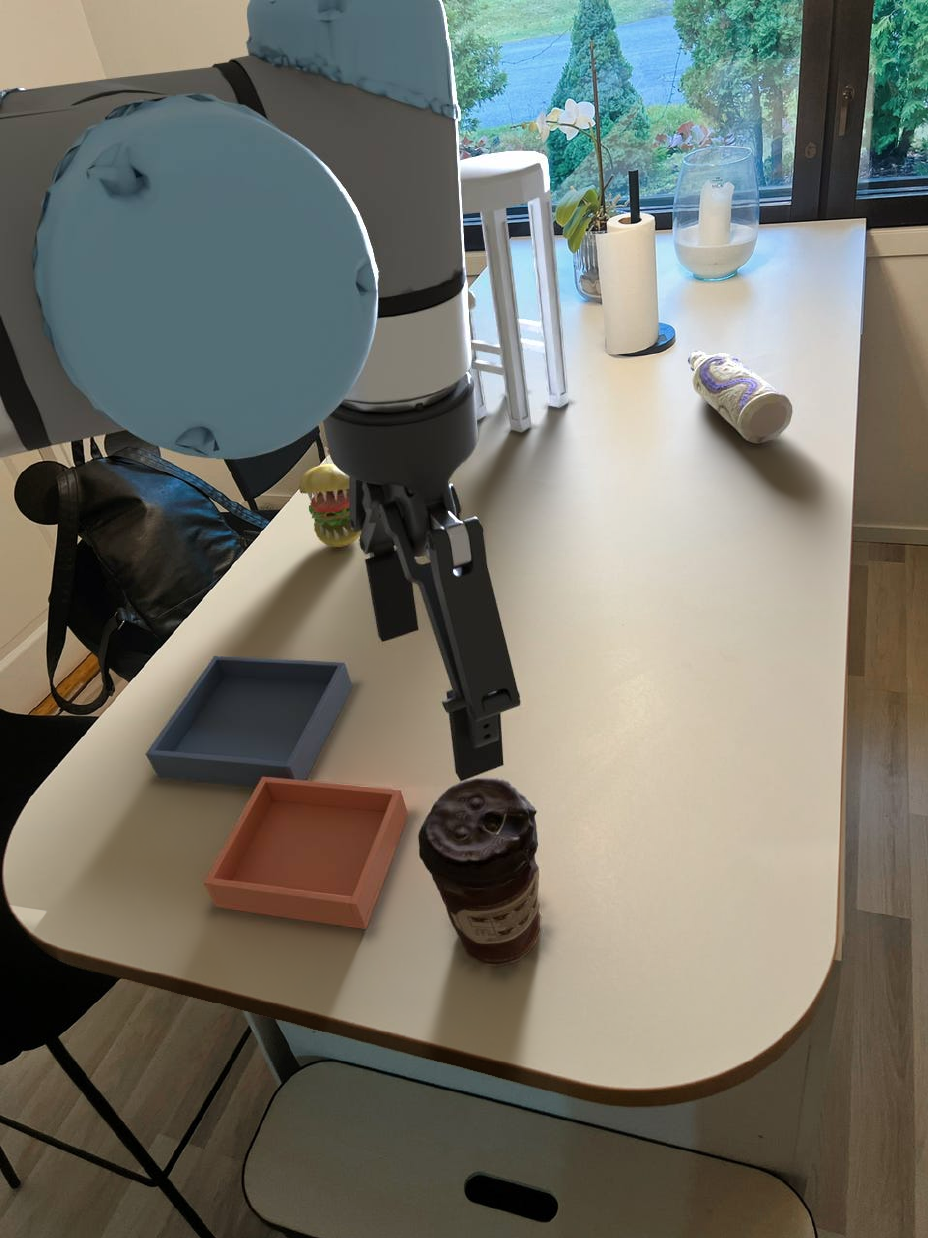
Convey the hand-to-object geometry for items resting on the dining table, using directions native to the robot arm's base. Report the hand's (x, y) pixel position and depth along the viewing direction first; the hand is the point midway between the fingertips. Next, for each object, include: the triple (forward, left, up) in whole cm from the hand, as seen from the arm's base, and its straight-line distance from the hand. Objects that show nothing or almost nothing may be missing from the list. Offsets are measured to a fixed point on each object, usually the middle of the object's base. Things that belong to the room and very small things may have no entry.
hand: (435, 695), depth 55 cm
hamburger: (-31, +50, -21) cm, 63 cm away
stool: (-15, +86, -21) cm, 90 cm away
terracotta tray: (-15, +1, -21) cm, 26 cm away
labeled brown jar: (+2, -3, -21) cm, 22 cm away
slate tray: (-27, +15, -21) cm, 37 cm away
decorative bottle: (+18, +84, -21) cm, 89 cm away
